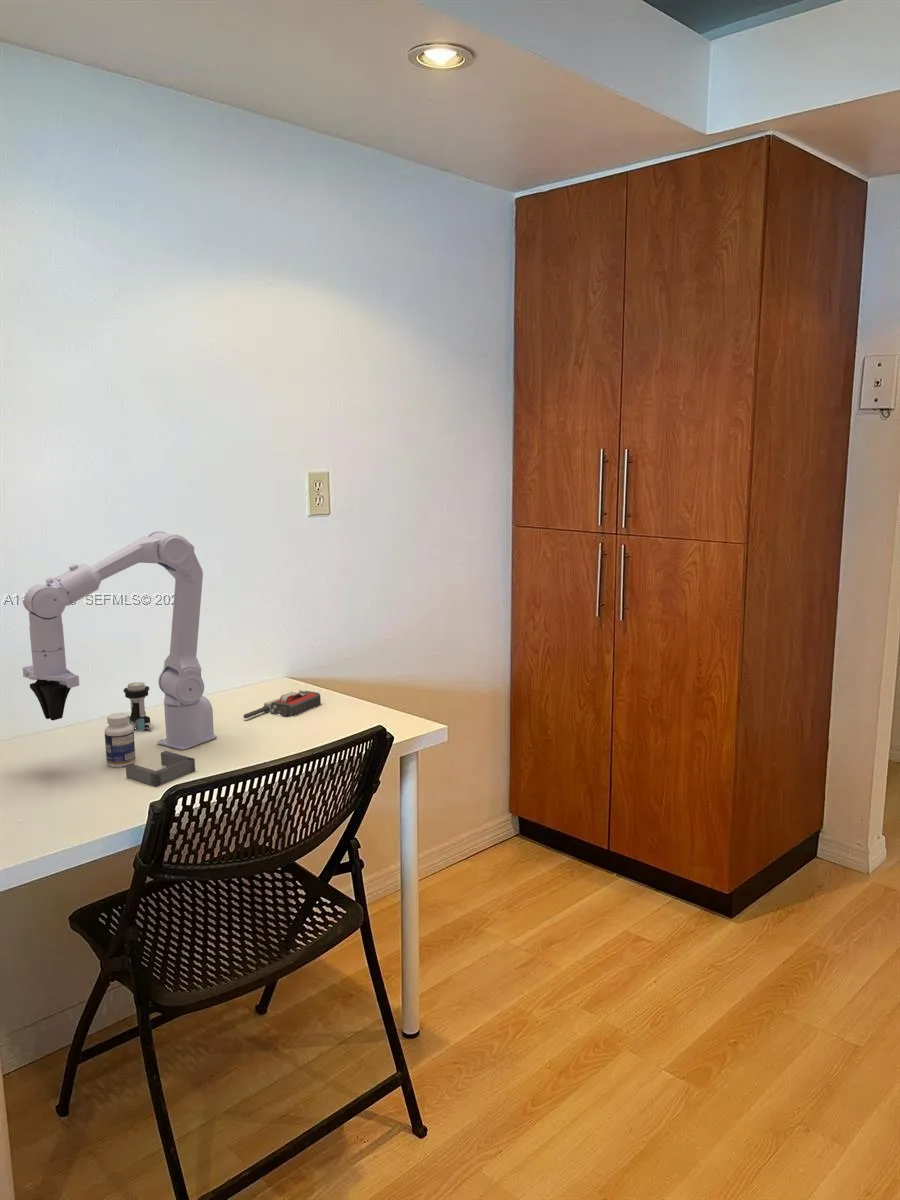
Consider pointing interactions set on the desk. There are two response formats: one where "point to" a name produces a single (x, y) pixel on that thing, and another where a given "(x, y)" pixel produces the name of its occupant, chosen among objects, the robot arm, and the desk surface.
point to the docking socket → (162, 770)
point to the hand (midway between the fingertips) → (54, 718)
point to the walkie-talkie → (290, 704)
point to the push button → (138, 705)
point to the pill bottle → (119, 740)
